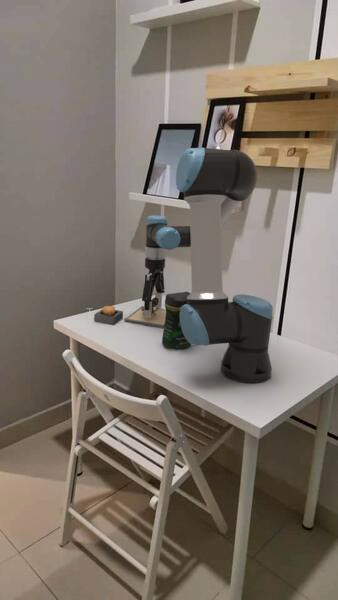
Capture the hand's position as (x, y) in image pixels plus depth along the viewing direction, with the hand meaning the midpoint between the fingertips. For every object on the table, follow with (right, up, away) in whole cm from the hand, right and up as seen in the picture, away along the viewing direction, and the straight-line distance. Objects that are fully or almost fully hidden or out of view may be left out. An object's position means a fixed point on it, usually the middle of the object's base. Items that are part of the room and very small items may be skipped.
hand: (152, 313), depth 183 cm
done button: (-16, 0, -5) cm, 17 cm away
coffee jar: (+9, -10, -24) cm, 28 cm away
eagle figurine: (-1, -1, 0) cm, 1 cm away
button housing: (-17, -3, -4) cm, 17 cm away
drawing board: (0, -2, +1) cm, 2 cm away
